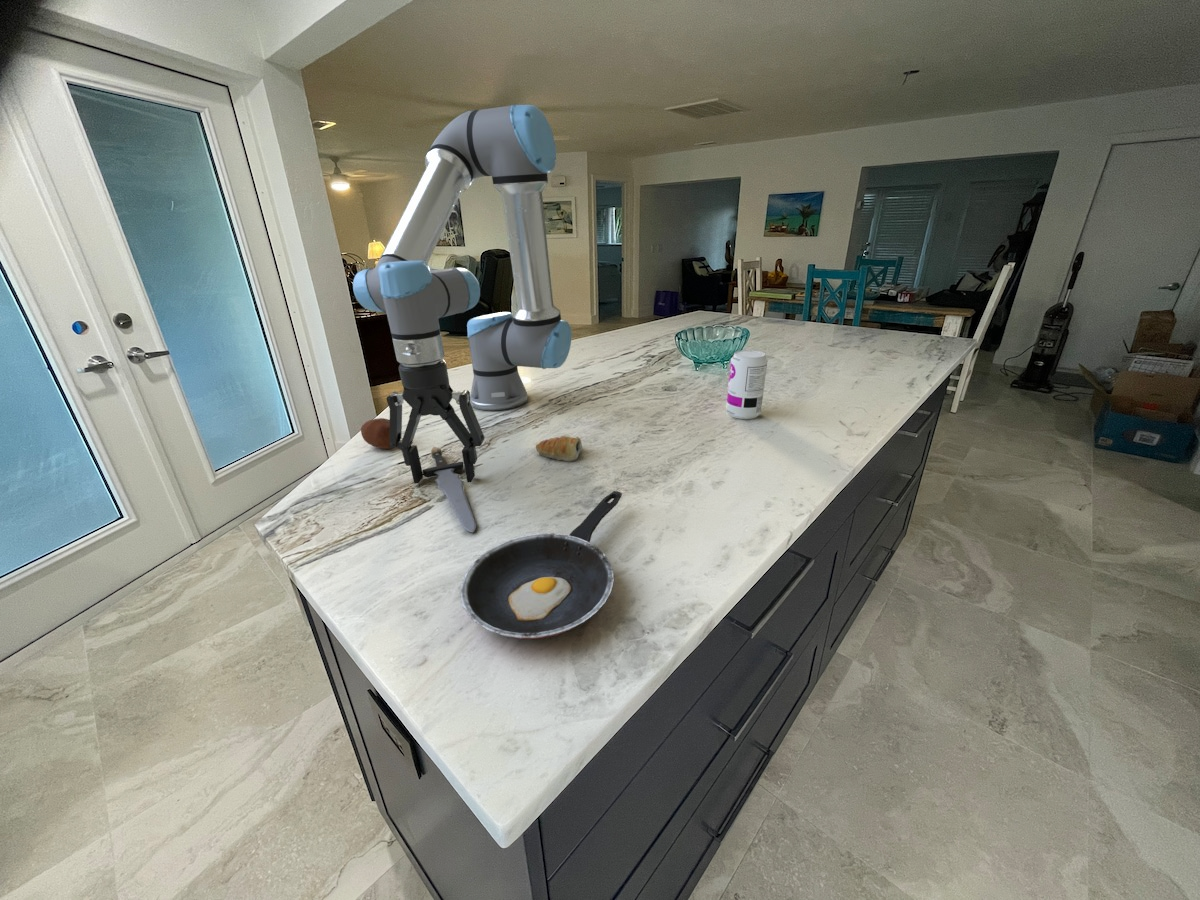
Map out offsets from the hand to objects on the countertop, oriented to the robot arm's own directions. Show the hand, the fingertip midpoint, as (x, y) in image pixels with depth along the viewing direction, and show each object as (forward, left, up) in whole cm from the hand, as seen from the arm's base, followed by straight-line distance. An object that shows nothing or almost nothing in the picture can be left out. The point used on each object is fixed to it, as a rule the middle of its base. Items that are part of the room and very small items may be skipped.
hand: (444, 479), depth 87 cm
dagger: (+3, +2, -1) cm, 3 cm away
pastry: (-11, +21, -1) cm, 24 cm away
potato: (-17, -19, -1) cm, 25 cm away
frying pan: (+25, +25, -1) cm, 35 cm away
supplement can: (-32, +64, -1) cm, 71 cm away
